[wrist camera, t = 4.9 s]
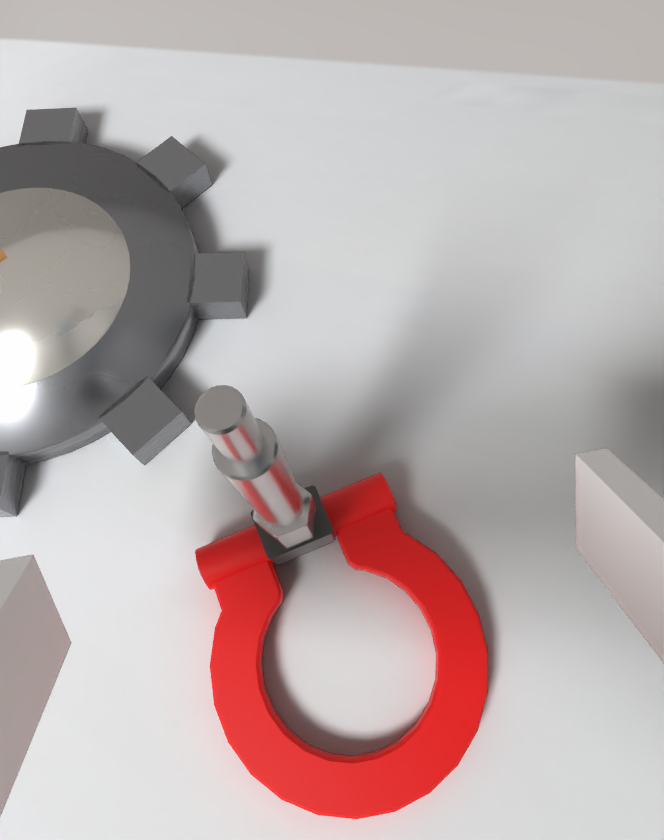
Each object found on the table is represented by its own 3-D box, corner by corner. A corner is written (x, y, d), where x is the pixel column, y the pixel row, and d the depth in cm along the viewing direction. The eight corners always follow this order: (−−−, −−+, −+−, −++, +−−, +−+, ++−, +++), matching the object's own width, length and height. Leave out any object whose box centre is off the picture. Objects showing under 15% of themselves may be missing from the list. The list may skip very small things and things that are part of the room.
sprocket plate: (257, 122, 28) (252, 98, 27) (235, 514, 22) (227, 505, 20) (-125, 138, 29) (-146, 115, 28) (-253, 518, 22) (-288, 510, 21)
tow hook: (529, 737, 19) (402, 465, 22) (834, 933, 7) (457, 261, 10) (273, 857, 18) (176, 560, 21) (101, 1315, 6) (-74, 469, 9)
